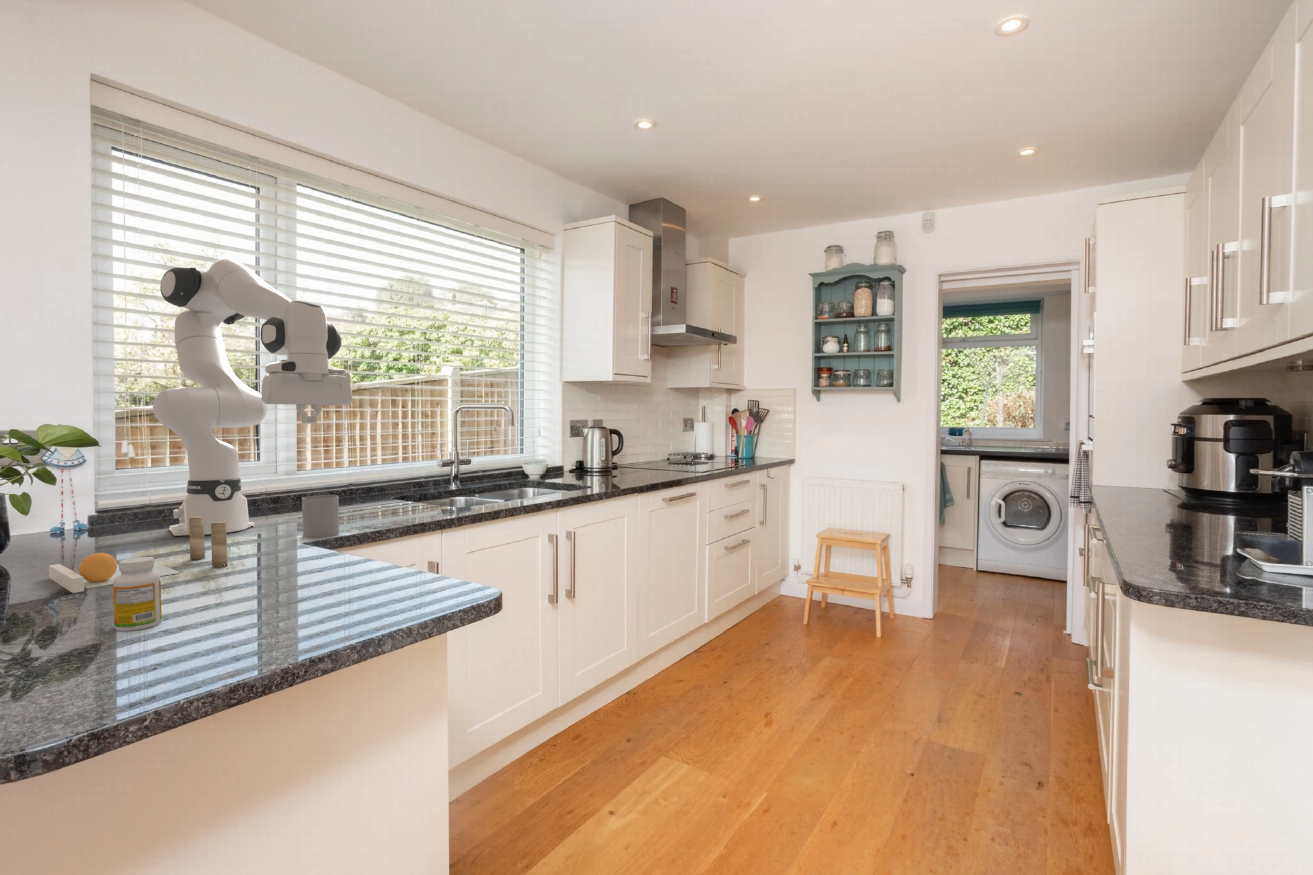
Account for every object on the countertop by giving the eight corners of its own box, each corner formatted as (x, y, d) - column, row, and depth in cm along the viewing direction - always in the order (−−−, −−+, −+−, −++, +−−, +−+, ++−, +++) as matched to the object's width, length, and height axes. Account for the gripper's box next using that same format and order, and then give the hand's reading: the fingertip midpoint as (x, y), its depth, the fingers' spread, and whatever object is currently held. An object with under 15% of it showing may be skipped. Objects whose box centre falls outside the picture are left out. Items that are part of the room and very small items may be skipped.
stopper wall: (49, 578, 123) (49, 565, 123) (60, 576, 124) (59, 563, 124) (72, 593, 112) (72, 578, 112) (84, 591, 113) (83, 577, 113)
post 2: (210, 566, 132) (208, 522, 132) (224, 564, 134) (223, 521, 134) (214, 568, 130) (213, 524, 130) (229, 565, 132) (228, 522, 132)
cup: (323, 538, 163) (322, 499, 163) (295, 537, 165) (294, 498, 165) (346, 532, 172) (345, 495, 171) (319, 531, 173) (318, 494, 173)
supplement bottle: (132, 620, 96) (130, 556, 96) (170, 619, 96) (168, 555, 96) (104, 632, 91) (102, 564, 90) (145, 631, 91) (143, 563, 91)
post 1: (188, 558, 139) (187, 517, 139) (202, 556, 141) (201, 516, 141) (192, 560, 138) (191, 518, 138) (206, 558, 140) (205, 517, 140)
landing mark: (67, 577, 123) (67, 576, 123) (157, 564, 135) (157, 563, 135) (86, 588, 115) (86, 587, 115) (180, 573, 126) (180, 572, 126)
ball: (75, 581, 119) (77, 552, 119) (113, 577, 123) (114, 549, 123) (80, 587, 116) (82, 557, 116) (119, 582, 120) (120, 553, 120)
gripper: (343, 370, 168) (344, 423, 168) (257, 365, 151) (259, 424, 152) (356, 368, 164) (357, 423, 164) (269, 363, 147) (270, 423, 148)
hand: (309, 423), depth 158 cm, fingers closed
